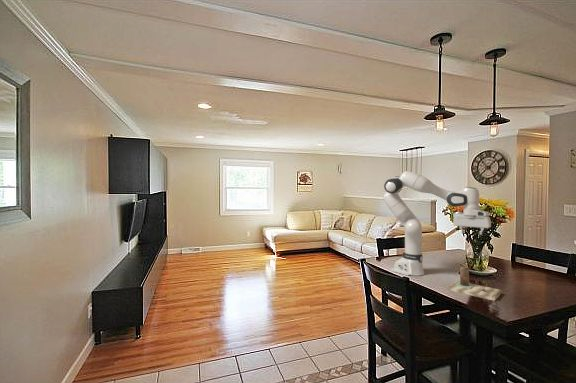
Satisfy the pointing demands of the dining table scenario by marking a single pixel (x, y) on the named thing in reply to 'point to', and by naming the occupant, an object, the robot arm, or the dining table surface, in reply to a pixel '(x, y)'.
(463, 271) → the wooden cylinder
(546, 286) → the dining table surface
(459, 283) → the felt pad
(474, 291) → the puzzle board
